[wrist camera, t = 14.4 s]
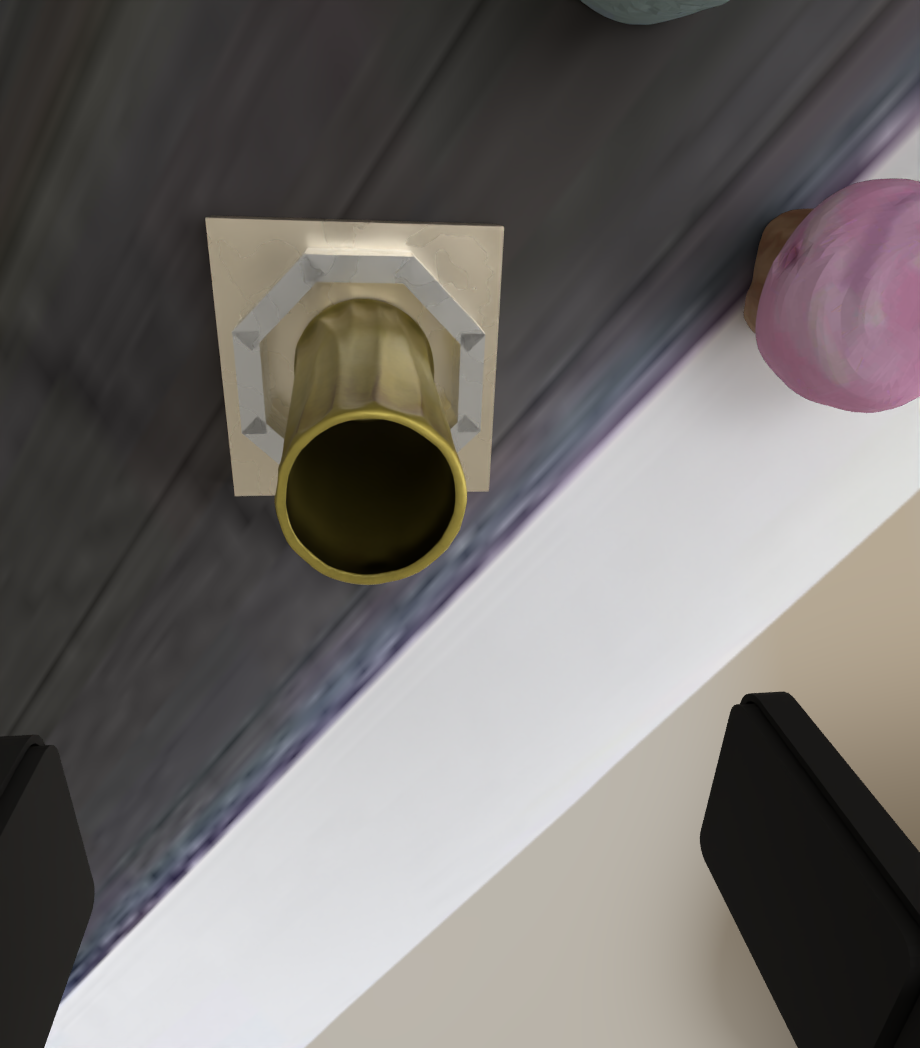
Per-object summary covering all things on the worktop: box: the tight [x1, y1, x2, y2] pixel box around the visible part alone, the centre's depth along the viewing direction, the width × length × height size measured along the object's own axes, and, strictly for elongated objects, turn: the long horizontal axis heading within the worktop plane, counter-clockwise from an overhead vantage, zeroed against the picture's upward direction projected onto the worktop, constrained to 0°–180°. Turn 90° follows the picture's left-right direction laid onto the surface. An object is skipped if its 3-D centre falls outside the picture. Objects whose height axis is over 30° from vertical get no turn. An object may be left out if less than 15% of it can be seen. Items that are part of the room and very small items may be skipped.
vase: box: [275, 299, 467, 585], centre depth 26 cm, size 6×6×14 cm
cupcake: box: [744, 179, 920, 413], centre depth 30 cm, size 9×9×10 cm
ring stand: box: [205, 215, 504, 496], centre depth 32 cm, size 12×12×4 cm
